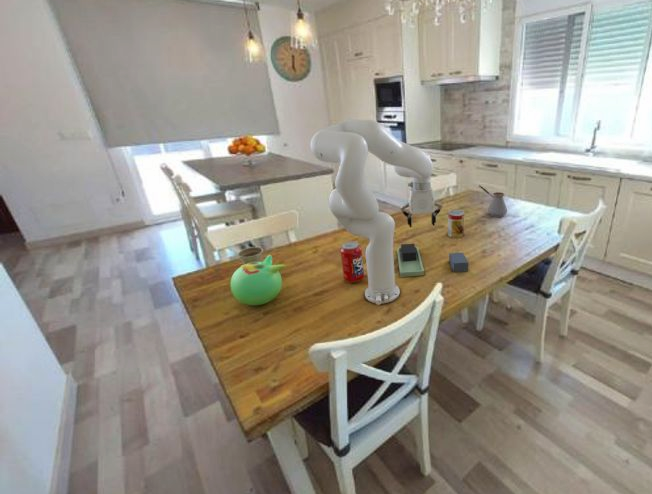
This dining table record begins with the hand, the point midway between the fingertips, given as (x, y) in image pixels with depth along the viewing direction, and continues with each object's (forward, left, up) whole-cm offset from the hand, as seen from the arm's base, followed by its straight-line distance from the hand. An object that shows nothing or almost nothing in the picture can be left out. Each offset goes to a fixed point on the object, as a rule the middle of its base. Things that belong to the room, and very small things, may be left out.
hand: (421, 225), depth 134 cm
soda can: (-12, +29, -16) cm, 35 cm away
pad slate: (-8, -14, -16) cm, 23 cm away
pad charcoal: (+3, +6, -16) cm, 17 cm away
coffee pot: (+53, -48, -16) cm, 74 cm away
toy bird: (-21, +61, -16) cm, 66 cm away
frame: (-2, +6, -16) cm, 17 cm away
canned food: (+24, -20, -16) cm, 36 cm away
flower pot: (+1, +71, -16) cm, 73 cm away
